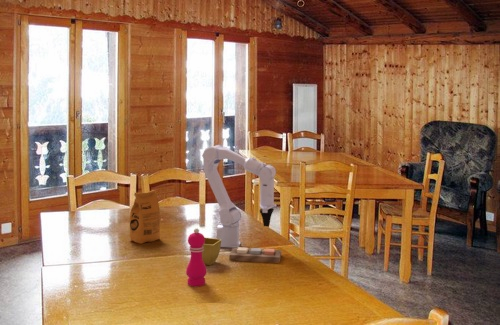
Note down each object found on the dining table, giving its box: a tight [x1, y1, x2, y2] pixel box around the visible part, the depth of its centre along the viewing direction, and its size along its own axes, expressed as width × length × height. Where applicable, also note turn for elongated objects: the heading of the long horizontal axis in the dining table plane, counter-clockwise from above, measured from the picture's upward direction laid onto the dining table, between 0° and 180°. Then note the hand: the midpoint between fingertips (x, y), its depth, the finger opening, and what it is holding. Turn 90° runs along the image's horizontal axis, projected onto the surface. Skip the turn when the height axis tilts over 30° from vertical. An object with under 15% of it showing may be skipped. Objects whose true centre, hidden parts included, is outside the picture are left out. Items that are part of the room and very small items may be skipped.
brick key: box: [264, 248, 276, 255], centre depth 244 cm, size 4×4×3 cm
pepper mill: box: [185, 228, 208, 287], centre depth 212 cm, size 7×7×20 cm
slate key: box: [250, 247, 262, 255], centre depth 245 cm, size 4×4×3 cm
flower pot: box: [202, 237, 221, 266], centre depth 237 cm, size 9×9×9 cm
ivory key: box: [237, 246, 249, 254], centre depth 245 cm, size 4×4×3 cm
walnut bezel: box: [228, 248, 282, 264], centre depth 245 cm, size 20×10×2 cm, turn 83°
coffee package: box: [129, 189, 161, 244], centre depth 268 cm, size 10×12×22 cm
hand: (266, 225), depth 255 cm, fingers closed
